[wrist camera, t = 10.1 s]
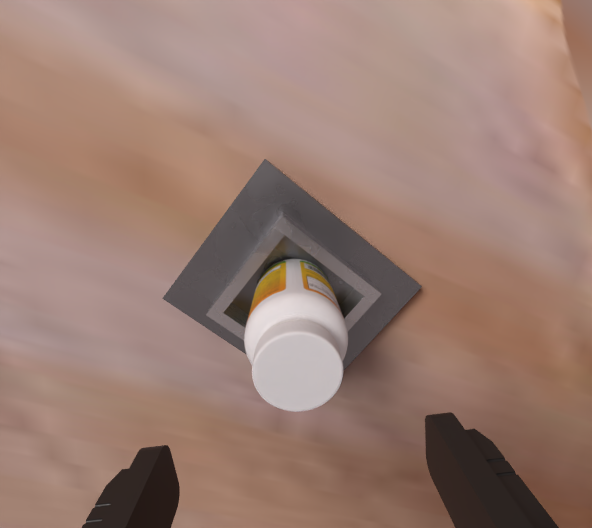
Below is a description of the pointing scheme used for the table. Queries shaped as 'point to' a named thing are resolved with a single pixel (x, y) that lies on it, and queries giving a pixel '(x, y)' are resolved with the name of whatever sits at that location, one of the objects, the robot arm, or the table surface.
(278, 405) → the supplement bottle
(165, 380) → the table surface
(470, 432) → the robot arm
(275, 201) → the plate
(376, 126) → the table surface
